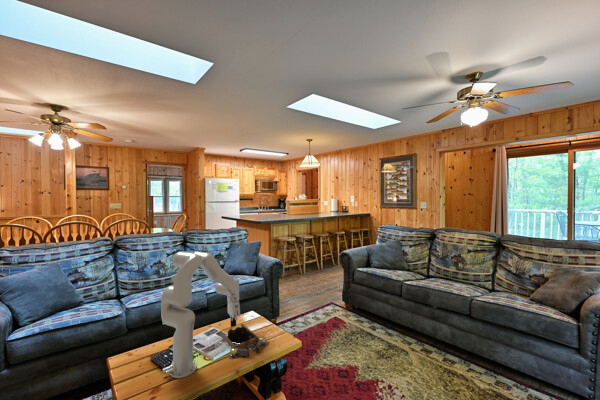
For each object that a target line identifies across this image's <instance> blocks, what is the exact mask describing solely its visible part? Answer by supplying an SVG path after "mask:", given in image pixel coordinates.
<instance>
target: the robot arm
mask: <svg viewBox="0 0 600 400" xmlns="http://www.w3.org/2000/svg"><path fill="white" fill-rule="evenodd" d="M172 264H173V266H175V267H176V268H179V269H178V270H177V272H176V273H175V275H174V277H173V285H169V286H167V287H165V288H164V290H163V291H162V294H161V298H160V305H161V306H160V314H161V315H160V316H161V321H162V323H163V324H164V325H166V326H170V327H172V328H175V332H174V334H173V337H172V362H171V364H170V365H169V366H166V367H163V368H162V373H163V374H164V373H166V374H169V375H170V377H172V378H174V379H182V378H186V377H189V376H190V375H192V374H194V372H195V371H196V370H197V362H196V361H194V326H195V320H196V315H195V314H196V313H194V311H193V310H191V309H189V308H186V307H188V306H189V305H190V304H191V302H192V299H193V296H192V295H193V293H192V292H193V290H192V289H193V287H192V283H193V282H192V281H193V280H192V279H193V277H194V275H195V273H196V271H198V270H199V268H201V270H203V271H204V273H205V275H206V276H207V278H209V279H210V280H211V281H212V282H213V283H217V284H216V285H215V286H214V287H215V288H214V289H215V290H214V291H215V292H216V293H217V294H220V295H224V296H226V297H227V298H226V299H227V301H226V302H227V314H228V315H229V317H230V318H229V320H230V327H231V328H234V327H236V326H237V320H238V317H240V316H241V307H240V306H241V305H240V280H239V279H238V278H235V277H232V276H231V275H230V274H229V273H228V272H226V271H225V270H224V269H222V267H221V265H220V264H219V263H218V261H217V260H216V258H215V257H214V255H213V254H212V253H210V252H204V251H178V252H176V253H175V254H174V255H173V257H172Z"/></svg>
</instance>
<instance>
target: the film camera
mask: <svg viewBox="0 0 600 400" xmlns="http://www.w3.org/2000/svg"><path fill="white" fill-rule="evenodd" d="M250 335H251V334H250V333H249V332H248V331H247V330H246V328H244V327H241V326H237V327H236V328H235V329H231V328H230V329H228V331H227V337H228V339H229V340H230V341H231V342H236V343H242V342H245V341H248V340H250V339H251V337H250Z"/></svg>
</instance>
